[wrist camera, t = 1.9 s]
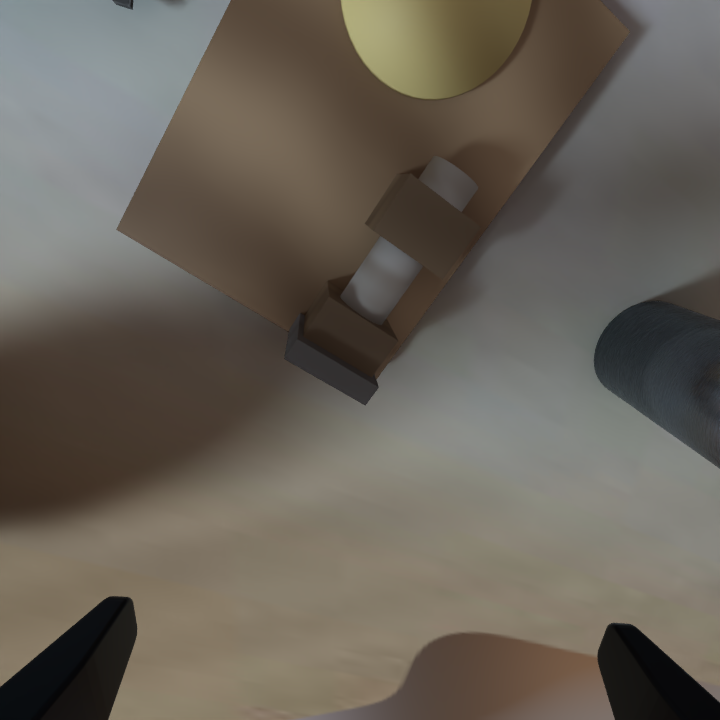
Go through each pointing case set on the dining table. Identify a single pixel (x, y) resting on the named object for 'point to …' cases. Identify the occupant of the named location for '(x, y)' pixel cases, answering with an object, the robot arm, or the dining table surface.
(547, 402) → the dining table surface
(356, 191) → the door lock
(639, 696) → the robot arm
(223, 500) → the dining table surface
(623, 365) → the silver metal cylinder
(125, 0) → the handgun
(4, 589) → the dining table surface
